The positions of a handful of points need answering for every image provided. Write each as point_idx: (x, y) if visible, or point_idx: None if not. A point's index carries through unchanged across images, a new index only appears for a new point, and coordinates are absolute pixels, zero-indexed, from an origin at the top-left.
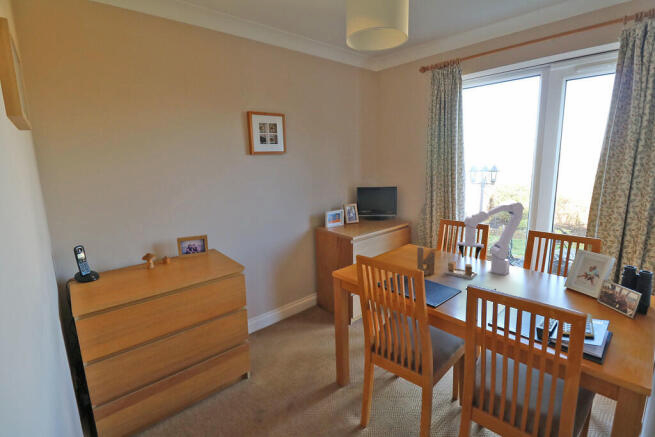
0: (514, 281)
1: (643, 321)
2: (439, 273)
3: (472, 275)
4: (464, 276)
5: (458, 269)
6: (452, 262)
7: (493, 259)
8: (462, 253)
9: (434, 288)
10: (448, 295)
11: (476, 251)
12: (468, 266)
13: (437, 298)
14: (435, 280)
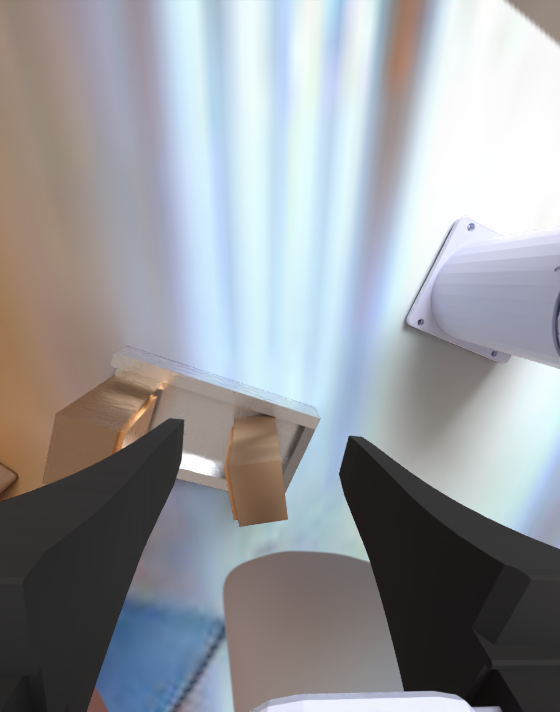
0: (514, 441)
1: None
2: None
3: (285, 485)
4: None
5: (177, 384)
6: (86, 463)
7: (546, 351)
8: (143, 535)
9: None
10: (176, 674)
11: (400, 646)
12: (256, 520)
13: (137, 706)
14: None
